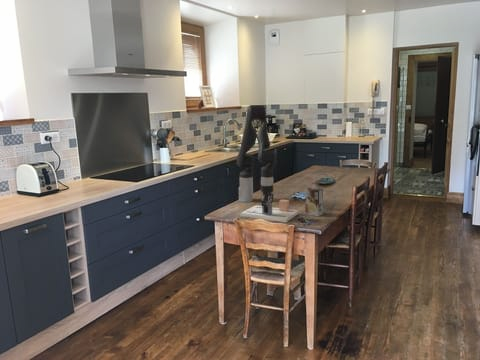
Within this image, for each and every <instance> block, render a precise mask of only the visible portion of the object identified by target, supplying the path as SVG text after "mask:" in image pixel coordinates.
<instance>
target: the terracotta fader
mask: <svg viewBox="0 0 480 360" xmlns="http://www.w3.org/2000/svg"><path fill="white" fill-rule="evenodd" d="M278 201H279V203H278V204H279V205H278V206H279V207H278V208H279V210H282V211H288V210H290V200H289V199H280V200H278Z"/></svg>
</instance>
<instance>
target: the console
mask: <svg viewBox="0 0 480 360" xmlns="http://www.w3.org/2000/svg"><path fill="white" fill-rule="evenodd" d="M299 213H300V212H299V210H296V209H289V210H288V211H282V210H279V207H274V206H272V214H270V215H267V214H262V205H253V206H252V207H250V208H248V209H246V210H244V211H242V212H241V213H240V217H247V218H251V219H252V218H253V219H260V220H268V221H273V222H275V221H276V222H280V223H281V222H282V223H287V222H289V221H291V220H292V219H293V218H295V217H296V216H297V215H299Z"/></svg>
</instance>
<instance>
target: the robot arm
mask: <svg viewBox="0 0 480 360" xmlns="http://www.w3.org/2000/svg"><path fill="white" fill-rule="evenodd" d="M245 117H246V118H245V123H244V129H243V133H242V138H241V143H240V148H239V152H238V154H237V158H236V165H237V167H239V168H245V170H243V171H241V172H240V173H239V187H238V201H239V202H242V203H249V202H250V203H251V202H253V201H254V178H253V177H254V176H253V175H254V156H253V154H252V153H248V152H249V151H250V150H251V149H252V148H253V147H254V146H255V145H256V142H257V144H258V152H257V153H258V154H257V159H258V162H260V163H261V164H267V165H266V166H265V165H264V166H262V167H261V169H260V175H261V176H260V192H261V193H262V197H260V203H261V206H263V207H264V213H267V212H268V203H270V204H273V201H274V195H275V194H274V193H273V192H274V167H275V163H276V159H277V154H276V152H275V151H274V150H268V149H269V148H271V142H270V137H269V133H268V121H267V111H266V107H265V106H264V105H263V104H250V105H249V106H248V107H247V109H246V116H245ZM253 121H260V126H259V129H258V131H256V129H255V127H254V125H253Z"/></svg>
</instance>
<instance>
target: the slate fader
mask: <svg viewBox="0 0 480 360" xmlns="http://www.w3.org/2000/svg"><path fill="white" fill-rule="evenodd" d="M261 206H262V205H261ZM272 207H273V203H271V204H270V203H268V212H267V213H264V207H263V206H262V214H267V215H270V214H272Z"/></svg>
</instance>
